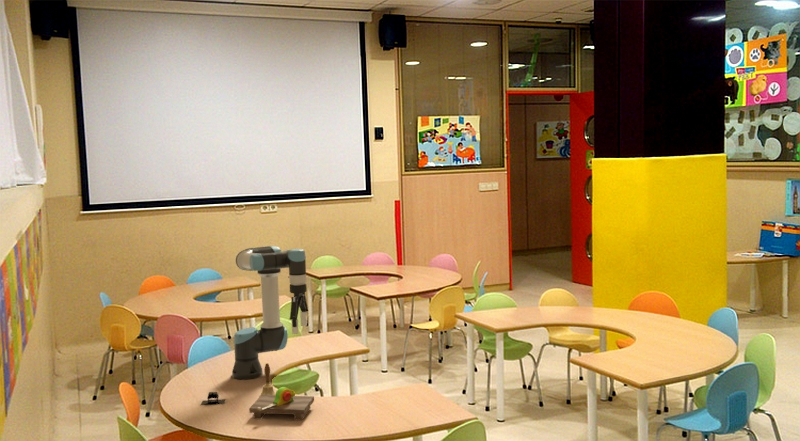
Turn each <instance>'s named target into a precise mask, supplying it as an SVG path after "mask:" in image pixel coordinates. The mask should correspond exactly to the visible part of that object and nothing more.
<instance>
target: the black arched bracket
mask: <svg viewBox="0 0 800 441" xmlns="http://www.w3.org/2000/svg"><path fill="white" fill-rule="evenodd" d="M219 397H220V396H219V392H218V391H211V392H210V391H209V392H208V394H207V400H202V401H201V403H200V406H211V405H213V406H214V405H225V404H226V399H225V398H224V399H222V398H221V399H220V398H219Z"/></svg>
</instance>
